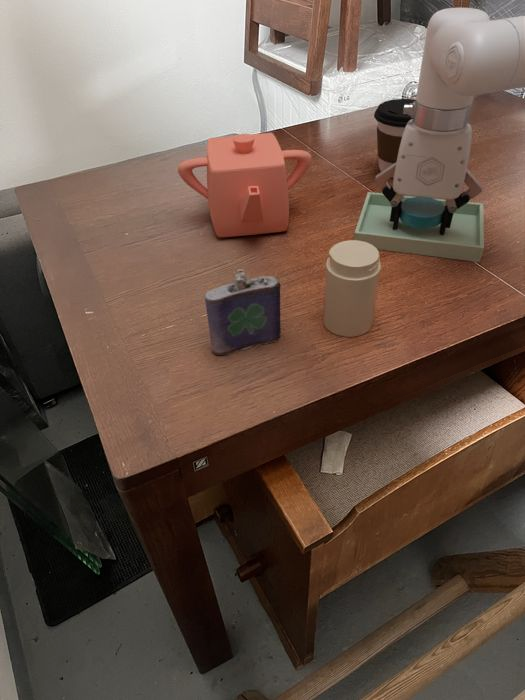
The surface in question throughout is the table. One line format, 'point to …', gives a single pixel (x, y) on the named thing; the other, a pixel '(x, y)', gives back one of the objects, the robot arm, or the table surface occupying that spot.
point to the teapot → (246, 183)
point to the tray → (422, 231)
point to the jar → (351, 288)
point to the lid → (421, 212)
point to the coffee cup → (390, 130)
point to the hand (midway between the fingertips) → (418, 227)
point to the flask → (243, 313)
